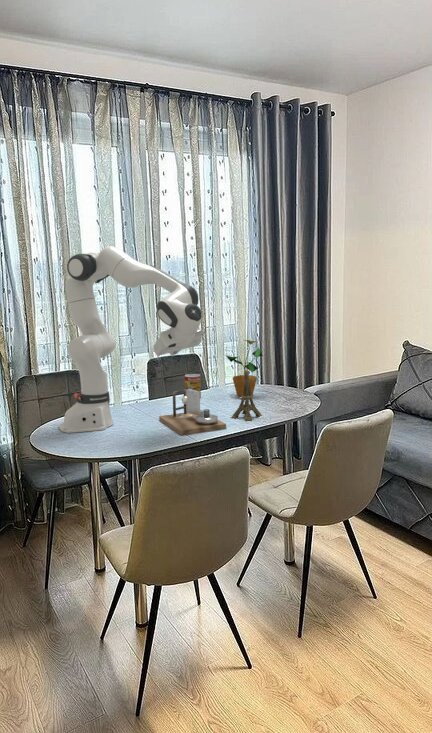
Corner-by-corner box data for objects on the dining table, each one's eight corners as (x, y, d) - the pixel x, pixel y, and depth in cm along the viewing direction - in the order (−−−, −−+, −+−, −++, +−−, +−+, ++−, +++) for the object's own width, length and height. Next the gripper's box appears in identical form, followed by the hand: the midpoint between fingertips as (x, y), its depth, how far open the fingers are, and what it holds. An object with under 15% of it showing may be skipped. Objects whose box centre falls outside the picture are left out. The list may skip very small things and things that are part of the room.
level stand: (181, 435, 225) (180, 404, 223) (159, 420, 248) (158, 391, 245) (226, 428, 234) (225, 398, 232) (201, 414, 256) (200, 386, 254)
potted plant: (268, 399, 283) (268, 339, 278) (232, 402, 279) (232, 341, 273) (256, 391, 300) (256, 335, 295) (222, 394, 296) (221, 336, 290)
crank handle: (175, 416, 244) (174, 389, 242) (191, 413, 250) (191, 386, 248) (205, 426, 230) (205, 397, 228) (222, 421, 236) (221, 393, 234)
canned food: (190, 401, 282) (190, 377, 279) (182, 398, 288) (181, 375, 286) (203, 398, 286) (203, 375, 284) (194, 396, 292) (194, 373, 290)
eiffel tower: (244, 413, 258) (244, 358, 254) (263, 416, 251) (263, 361, 247) (230, 418, 250) (229, 362, 246) (249, 422, 244) (249, 364, 239)
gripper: (201, 323, 230) (191, 341, 241) (156, 333, 220) (148, 352, 231) (208, 335, 228) (198, 353, 239) (162, 347, 218) (154, 365, 229)
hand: (173, 353), depth 235 cm, fingers closed
